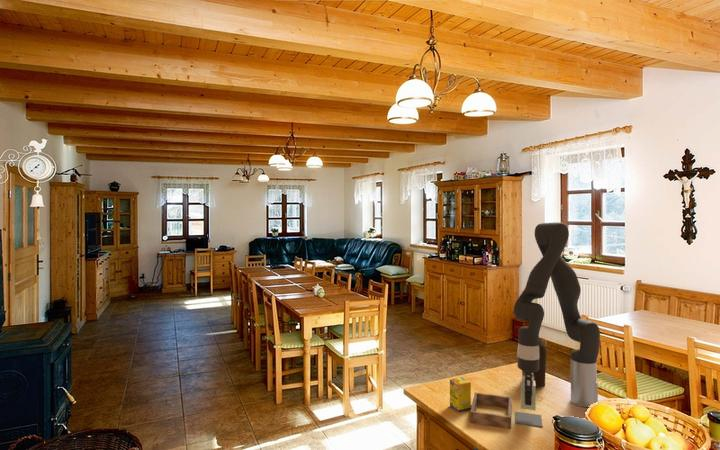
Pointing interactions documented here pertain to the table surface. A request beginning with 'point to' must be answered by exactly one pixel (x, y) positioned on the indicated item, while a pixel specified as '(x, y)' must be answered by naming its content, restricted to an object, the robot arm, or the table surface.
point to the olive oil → (540, 366)
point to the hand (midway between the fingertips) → (528, 401)
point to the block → (533, 405)
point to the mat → (528, 419)
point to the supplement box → (460, 394)
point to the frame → (488, 417)
